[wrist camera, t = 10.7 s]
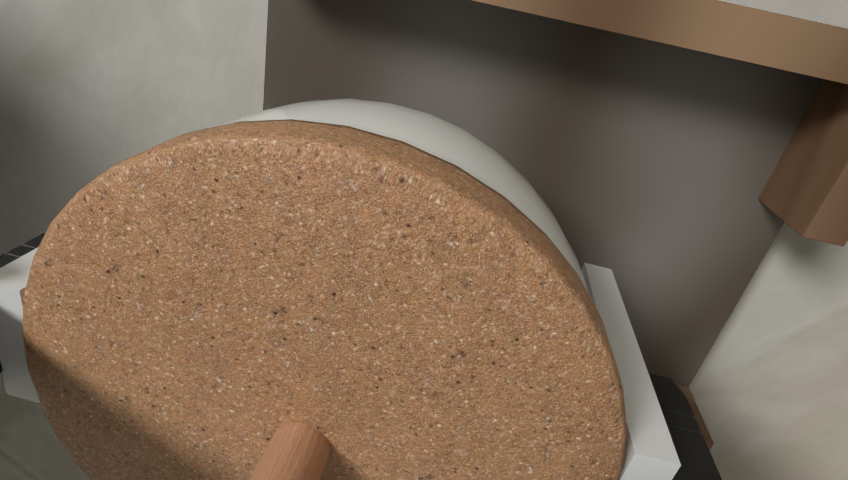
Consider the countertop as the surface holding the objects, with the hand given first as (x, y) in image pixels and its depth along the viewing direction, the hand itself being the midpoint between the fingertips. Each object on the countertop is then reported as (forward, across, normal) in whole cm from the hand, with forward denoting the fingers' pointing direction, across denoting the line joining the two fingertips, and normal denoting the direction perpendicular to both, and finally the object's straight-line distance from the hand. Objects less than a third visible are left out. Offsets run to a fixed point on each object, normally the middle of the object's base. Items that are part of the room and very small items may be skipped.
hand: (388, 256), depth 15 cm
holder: (+3, +3, 0) cm, 4 cm away
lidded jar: (+1, 0, 0) cm, 1 cm away
